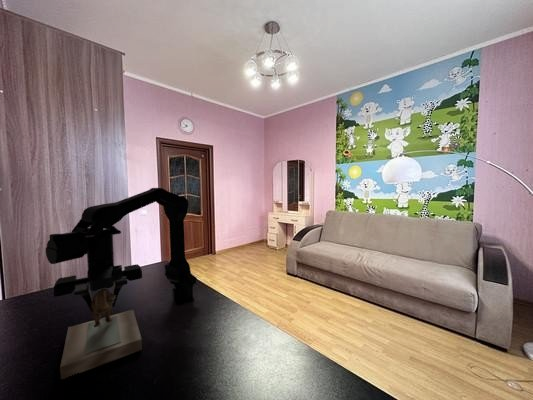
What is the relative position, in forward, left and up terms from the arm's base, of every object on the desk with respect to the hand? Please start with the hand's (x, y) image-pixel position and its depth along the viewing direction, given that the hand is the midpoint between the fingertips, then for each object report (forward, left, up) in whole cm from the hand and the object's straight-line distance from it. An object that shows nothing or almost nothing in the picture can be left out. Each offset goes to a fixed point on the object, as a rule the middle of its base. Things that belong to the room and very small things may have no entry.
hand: (103, 309), depth 62 cm
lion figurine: (-1, +1, -3) cm, 3 cm away
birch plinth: (0, 0, -10) cm, 10 cm away
